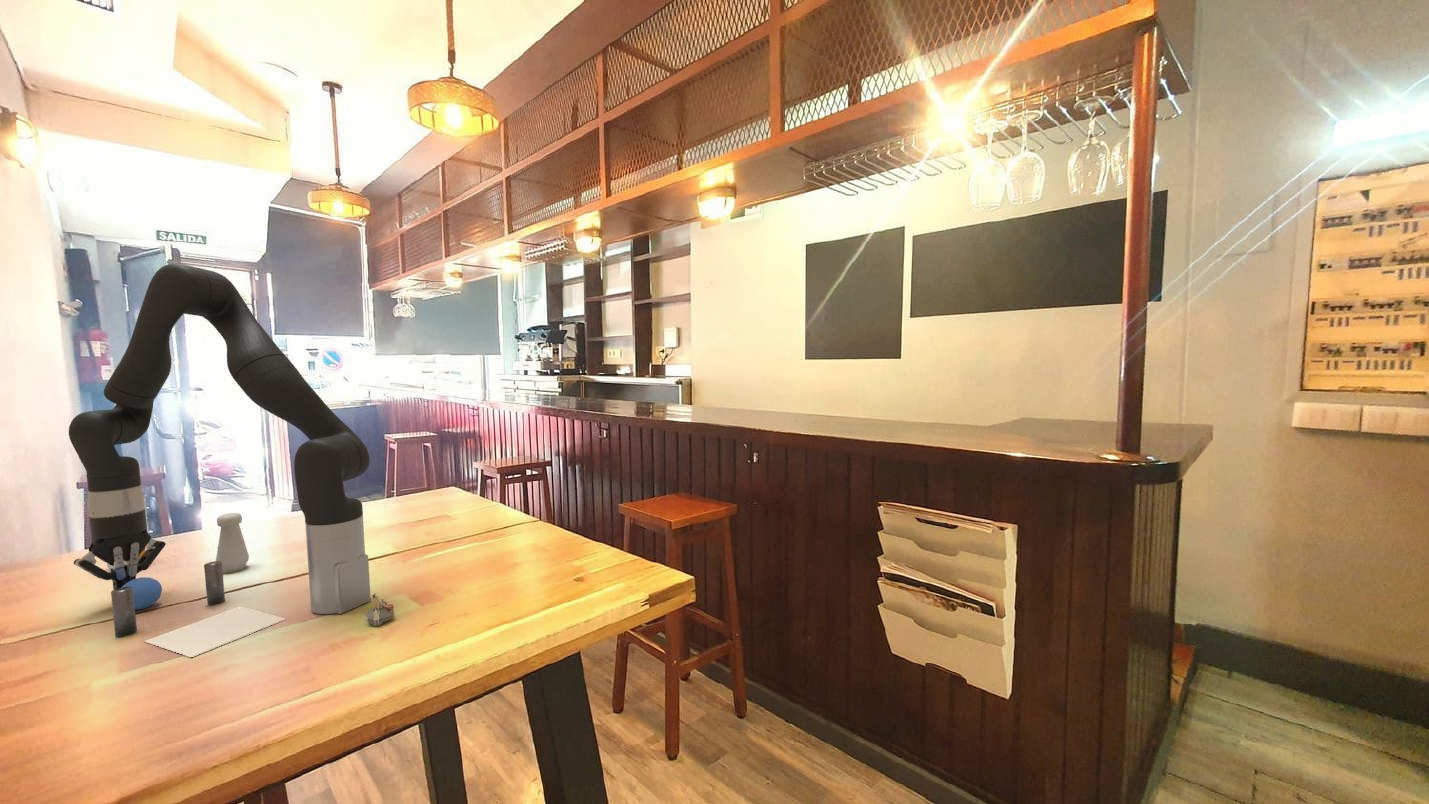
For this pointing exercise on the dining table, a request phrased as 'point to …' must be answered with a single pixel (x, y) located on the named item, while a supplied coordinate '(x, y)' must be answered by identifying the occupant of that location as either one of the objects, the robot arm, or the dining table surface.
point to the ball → (144, 591)
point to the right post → (214, 582)
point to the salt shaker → (231, 543)
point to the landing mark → (214, 631)
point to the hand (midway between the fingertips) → (126, 595)
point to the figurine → (380, 612)
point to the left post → (123, 611)
